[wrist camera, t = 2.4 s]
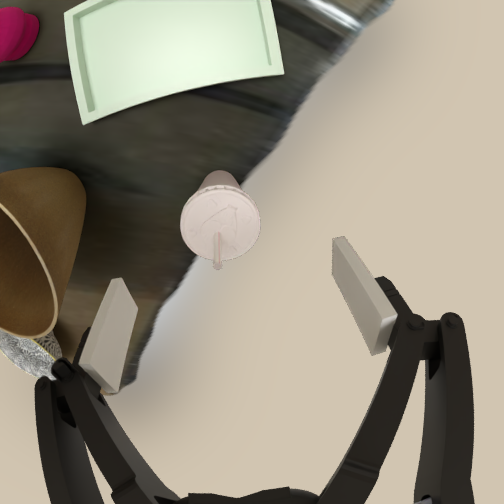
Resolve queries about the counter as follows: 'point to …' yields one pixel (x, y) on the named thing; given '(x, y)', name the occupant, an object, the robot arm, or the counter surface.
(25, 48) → the pepper mill
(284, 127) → the counter surface
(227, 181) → the smoothie
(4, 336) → the bowl
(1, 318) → the plant pot
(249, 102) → the counter surface
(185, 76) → the tray
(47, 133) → the counter surface
